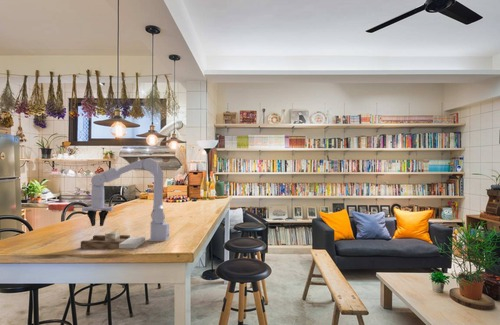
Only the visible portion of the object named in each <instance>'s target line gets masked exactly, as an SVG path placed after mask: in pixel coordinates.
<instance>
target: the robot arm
mask: <svg viewBox="0 0 500 325" xmlns="http://www.w3.org/2000/svg"><path fill="white" fill-rule="evenodd" d="M136 169H144V170H146V171H147V172H150V174H152V175H153V205H152V211H151V212H150V213H151V214H150V218H151V219H152V220H151V221H150V238H149V239H147V241H148V242H166V241H167V240H168V239H169V238H170V223H169V222H165V218H166V217H165V213H164V207H163V206H164V205H163V204H164V203H163V201H164V200H163V199H164V198H163V197H164V196H163V195H164V193H163V192H164V191H163V190H164V171H163V169H162V168H161V167H160V165H159V163H158V162H157V161H156V160H155V159H153V158H150V157H147V158H145V159H140V160H139V159H138V160H135V161H133V162H130V163H129V164H127V165H124V166H122V167H120V168H118V167H110V168H109V169H107V170H105V171H100V172H99V173H98V174H95V175H93V176H92V177H91V180H90V182H91V191H90V192H91V196H90V199H91V200H90V201H91V206H84V207H81V212H86V216H87V217H88V218H89V221H90V225H91V227H94V226H96V216H97V212H98V216H99V227H103V226H104V223H105V221H106V218H107V216H108V214H109V212H114V206H105V183H107V184H108V183H110V182H112V181H115V180H118V179H119V178H120V177H121V175H123V174H125V173H128V172H130V171H133V170H136Z"/></svg>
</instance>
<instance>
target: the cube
mask: <svg viewBox="0 0 500 325" xmlns="http://www.w3.org/2000/svg"><path fill="white" fill-rule="evenodd" d="M104 235H105V241H118V240H120V235H121V231H113V230H112V231H108V232H106V233H105V234H104Z"/></svg>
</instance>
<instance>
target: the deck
mask: <svg viewBox="0 0 500 325" xmlns="http://www.w3.org/2000/svg"><path fill="white" fill-rule="evenodd" d="M145 242H146V237H145V236H144V237H139V236H138V237H137V236H136V237H131V235H130V234H120V240H118V241H105V234H104V235H103V234H100V235H99V234H97V235H96V234H95V235H92V238H90V239H89V240H81V241H80V249H137V248H139V247H140V246H141V245H142V244H144V243H145Z"/></svg>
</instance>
